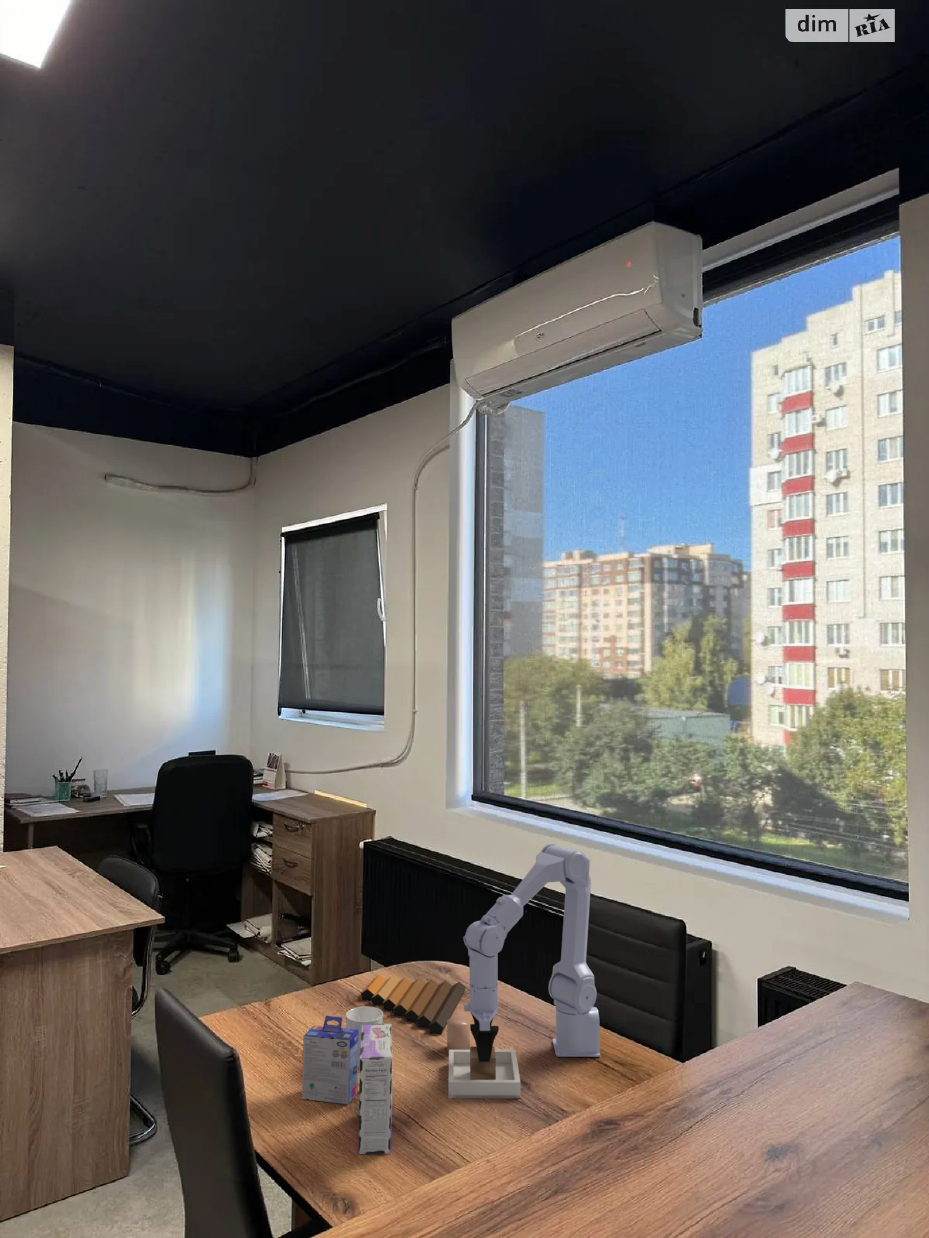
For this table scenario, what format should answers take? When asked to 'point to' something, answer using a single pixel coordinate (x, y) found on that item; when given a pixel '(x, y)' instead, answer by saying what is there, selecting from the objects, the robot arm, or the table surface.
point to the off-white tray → (499, 1088)
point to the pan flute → (416, 1000)
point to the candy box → (375, 1089)
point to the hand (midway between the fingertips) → (483, 1051)
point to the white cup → (363, 1020)
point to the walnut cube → (482, 1066)
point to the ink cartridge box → (330, 1063)
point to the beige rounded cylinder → (458, 1033)
